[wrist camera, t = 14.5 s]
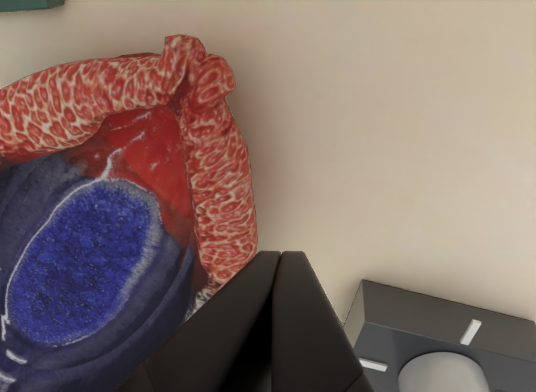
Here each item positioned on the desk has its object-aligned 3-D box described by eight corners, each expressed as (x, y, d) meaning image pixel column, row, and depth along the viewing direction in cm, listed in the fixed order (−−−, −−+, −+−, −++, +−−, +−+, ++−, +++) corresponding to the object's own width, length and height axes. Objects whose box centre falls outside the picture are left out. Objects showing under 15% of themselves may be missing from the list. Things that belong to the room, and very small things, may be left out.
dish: (-116, 330, 31) (-190, 394, 26) (90, -91, 17) (5, -101, 13) (82, 442, 34) (46, 514, 30) (389, 167, 20) (403, 228, 16)
